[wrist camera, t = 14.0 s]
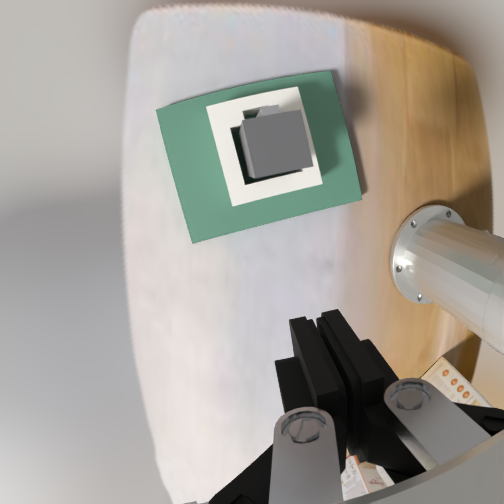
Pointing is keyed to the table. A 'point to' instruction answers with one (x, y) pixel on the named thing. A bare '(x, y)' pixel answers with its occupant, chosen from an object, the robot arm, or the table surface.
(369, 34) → the table surface
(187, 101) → the board
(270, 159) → the plug
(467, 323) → the robot arm
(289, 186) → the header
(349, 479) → the cracker box
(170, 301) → the table surface
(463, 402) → the coffeecake box
